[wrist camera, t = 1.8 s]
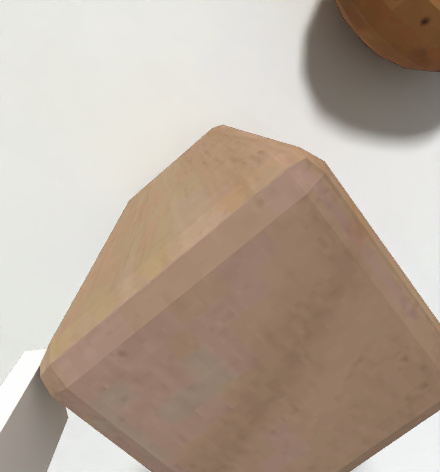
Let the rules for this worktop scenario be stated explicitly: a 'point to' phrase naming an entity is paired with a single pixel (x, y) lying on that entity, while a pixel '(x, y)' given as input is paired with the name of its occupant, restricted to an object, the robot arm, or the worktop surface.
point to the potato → (398, 29)
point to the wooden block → (246, 321)
